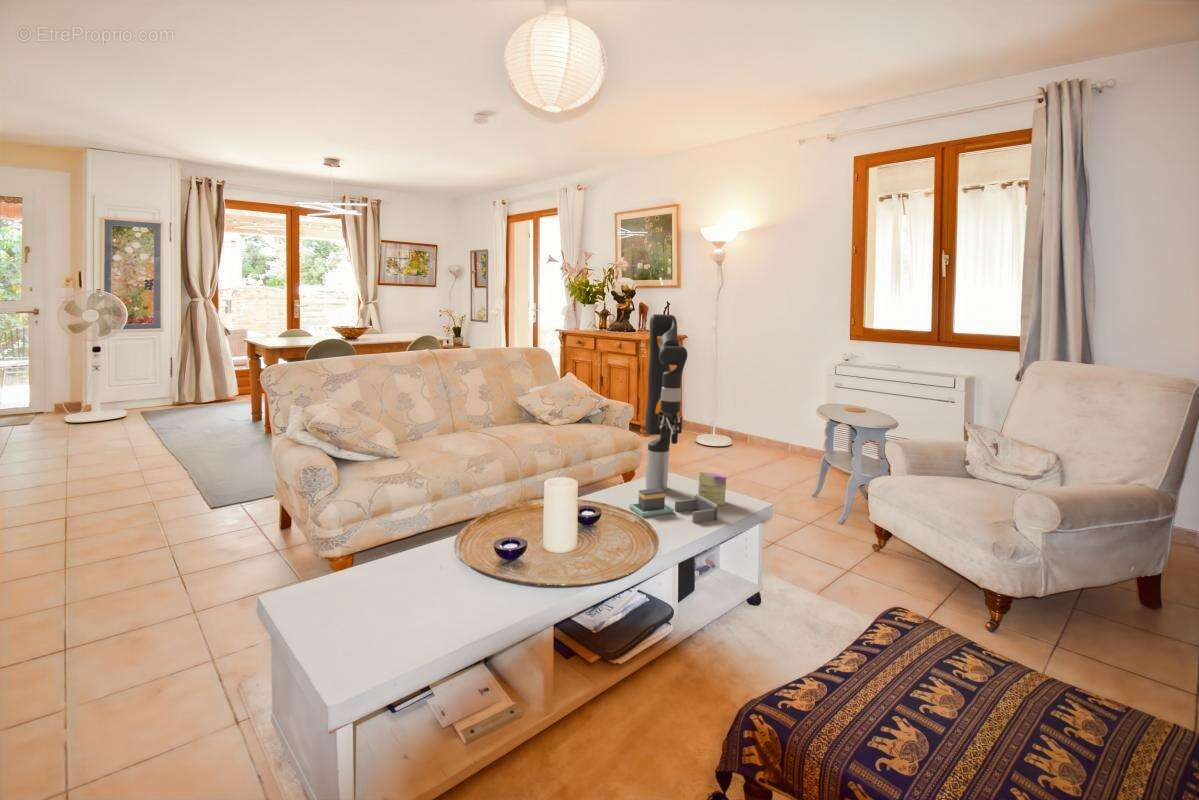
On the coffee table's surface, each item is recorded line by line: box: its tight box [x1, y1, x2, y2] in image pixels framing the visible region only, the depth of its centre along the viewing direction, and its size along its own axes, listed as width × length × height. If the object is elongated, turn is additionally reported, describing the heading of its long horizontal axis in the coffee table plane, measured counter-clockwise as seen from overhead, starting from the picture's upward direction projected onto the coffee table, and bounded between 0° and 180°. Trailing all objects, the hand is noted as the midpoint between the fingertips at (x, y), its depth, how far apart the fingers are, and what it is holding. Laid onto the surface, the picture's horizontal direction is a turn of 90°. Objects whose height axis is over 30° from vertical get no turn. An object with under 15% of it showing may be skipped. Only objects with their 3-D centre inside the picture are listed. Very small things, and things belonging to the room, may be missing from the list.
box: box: [697, 471, 727, 506], centre depth 242 cm, size 10×6×12 cm, turn 84°
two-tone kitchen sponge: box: [638, 488, 666, 512], centre depth 229 cm, size 9×5×8 cm, turn 114°
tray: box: [629, 502, 675, 518], centre depth 230 cm, size 11×14×2 cm
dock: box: [674, 493, 719, 524], centre depth 226 cm, size 14×10×6 cm
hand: (668, 441), depth 226 cm, fingers open, 8 cm apart
